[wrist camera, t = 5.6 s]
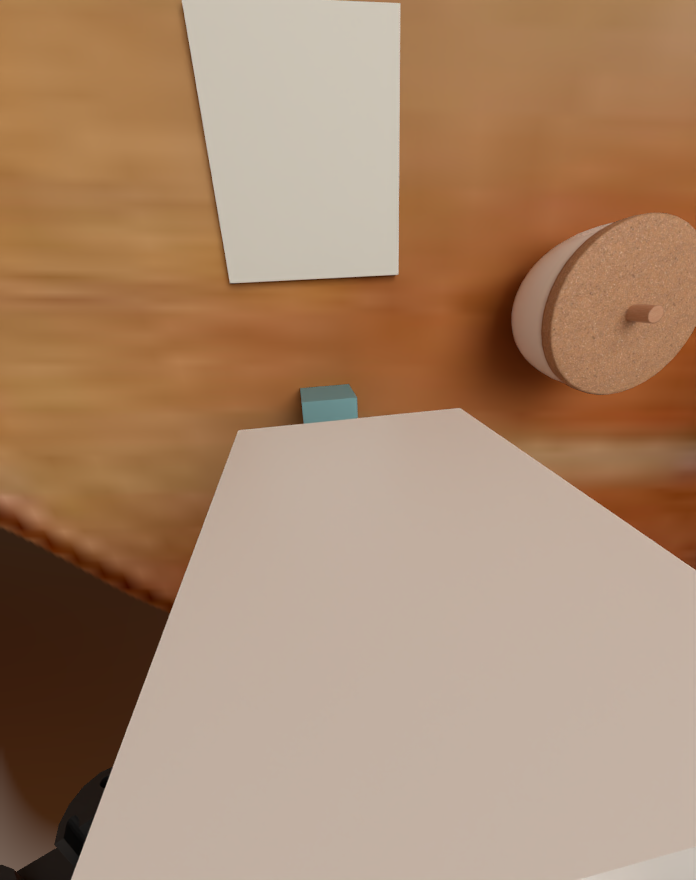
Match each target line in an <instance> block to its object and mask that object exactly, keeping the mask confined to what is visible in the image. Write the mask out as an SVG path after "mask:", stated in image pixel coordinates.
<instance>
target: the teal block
mask: <svg viewBox="0 0 696 880" xmlns="http://www.w3.org/2000/svg"><path fill="white" fill-rule="evenodd" d="M300 392H301V402H302V411H303V421H304V424H306V423H316V422H326V421H336V420H346V419H356V418H358V414H357V397H356V395H355V394H354V392H353V390H352V389H351V387H350V386H349V384H346V385H333V386H321V387H309V388H300Z"/></svg>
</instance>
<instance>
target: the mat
mask: <svg viewBox="0 0 696 880" xmlns="http://www.w3.org/2000/svg"><path fill="white" fill-rule="evenodd" d="M182 4H183V10H184V16H185V22H186V28H187V34H188V40H189V46H190V51H191V57H192V63H193V69H194V75H195V81H196V87H197V93H198V98H199V104H200V110H201V116H202V122H203V128H204V134H205V139H206V145H207V151H208V157H209V163H210V169H211V175H212V181H213V186H214V192H215V198H216V204H217V210H218V216H219V222H220V228H221V233H222V239H223V245H224V251H225V257H226V263H227V269H228V275H229V280H230V283H249V282H268V281H287V280H307V279H326V278H346V277H365V276H384V275H398V254H399V112H400V3H382V2H359V1H336V0H182Z"/></svg>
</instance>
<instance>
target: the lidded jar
mask: <svg viewBox="0 0 696 880" xmlns="http://www.w3.org/2000/svg"><path fill="white" fill-rule="evenodd" d="M511 324H512V333H513V337H514V340H515V343H516V345H517V347H518V349H519V351H520V352H521V354H522V355H523V356H524V358H525V359H526V360H527V361H528V362H529V363H530V364H531V365H532V366H533V367H535V368H536V369H537V370H538V371H540V372H542V373H543V374H545V375H547V376H549V377H550V378H552V379H554V380H557V381H559V382H562V383H565V384H566V385H568V386H570V387H571V388H574V389H577V390H580V391H582V392H585V393H589V394H596V395H606V394H613V393H618V392H622V391H625V390H627V389H630V388H633V387H635V386H637V385H639V384H641V383H643V382H644V381H646V380H648V379H649V378H651V377H652V376H654V375H655V374H656V373H658V372H659V371H660V370H661V369H662V368H663V367H665V366H666V365H667V364H668V363H669V362H670V361H671V360H672V359H673V358H674V357H675V356H676V354H677V353H678V352H679V351H680V349H681V348H682V347H683V345H684V344H685V343H686V341H687V340H688V338H689V337H690V335H691V334H692V332H693V330H694V328H695V326H696V230H695V229H694V228H693V227H692V226H691V225H690V224H689V223H688V222H686V221H684V220H683V219H681V218H679V217H677V216H674V215H671V214H667V213H647V214H641V215H635V216H631V217H628V218H625V219H622V220H619V221H616V222H613V223H609V224H605V225H602V226H598V227H596V228H593V229H590V230H587V231H584V232H582V233H579V234H577V235H575V236H573V237H571V238H569V239H568V240H566V241H564V242H562V243H560V244H558V245H557V246H555V247H554V248H553V249H551V250H550V251H549V252H547V253H546V254H545V255H544V256H543V257H542V258H541V259H540V260H539V261H538V262H537V263H536V264H535V265H534V266H533V267H532V268H531V270H530V271H529V272H528V273H527V275H526V277H525V278H524V280H523V282H522V283H521V285H520V287H519V289H518V291H517V294H516V297H515V300H514V303H513V308H512V316H511Z"/></svg>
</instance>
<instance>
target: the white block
mask: <svg viewBox="0 0 696 880" xmlns="http://www.w3.org/2000/svg"><path fill="white" fill-rule="evenodd" d="M71 880H696V570H695V569H693V568H692V567H690V566H689V565H687V564H686V563H684V562H683V561H681V560H680V559H679V558H677V557H676V556H674V555H673V554H671V553H670V552H668V551H667V550H665V549H664V548H663V547H661V546H660V545H658V544H657V543H655V542H654V541H652V540H651V539H649V538H648V537H647V536H645V535H644V534H642V533H641V532H639V531H638V530H636V529H635V528H634V527H632V526H631V525H629V524H628V523H626V522H625V521H623V520H622V519H620V518H619V517H618V516H616V515H615V514H613V513H612V512H610V511H609V510H607V509H606V508H604V507H603V506H602V505H600V504H599V503H597V502H596V501H594V500H593V499H591V498H590V497H588V496H587V495H586V494H584V493H583V492H581V491H580V490H578V489H577V488H575V487H574V486H573V485H571V484H570V483H568V482H567V481H565V480H564V479H562V478H561V477H559V476H558V475H557V474H555V473H554V472H552V471H551V470H549V469H548V468H546V467H545V466H543V465H542V464H541V463H539V462H538V461H536V460H535V459H533V458H532V457H530V456H529V455H527V454H526V453H525V452H523V451H522V450H520V449H519V448H517V447H516V446H514V445H513V444H512V443H510V442H509V441H507V440H506V439H504V438H503V437H501V436H500V435H498V434H497V433H496V432H494V431H493V430H491V429H490V428H488V427H487V426H485V425H484V424H482V423H481V422H480V421H478V420H477V419H475V418H474V417H472V416H471V415H469V414H468V413H466V412H465V411H464V410H462V409H461V408H455V409H446V410H436V411H426V412H416V413H406V414H396V415H386V416H376V417H366V418H356V419H346V420H336V421H326V422H316V423H306V424H296V425H287V426H277V427H267V428H257V429H247V430H238V433H237V435H236V438H235V441H234V444H233V446H232V449H231V452H230V454H229V457H228V460H227V462H226V465H225V468H224V470H223V473H222V476H221V478H220V481H219V484H218V486H217V489H216V492H215V495H214V497H213V500H212V503H211V505H210V508H209V511H208V513H207V516H206V519H205V521H204V524H203V527H202V529H201V532H200V535H199V537H198V540H197V543H196V546H195V548H194V551H193V554H192V556H191V559H190V562H189V564H188V567H187V570H186V572H185V575H184V578H183V580H182V583H181V586H180V588H179V591H178V594H177V597H176V599H175V602H174V605H173V607H172V610H171V613H170V615H169V618H168V621H167V623H166V626H165V629H164V631H163V634H162V637H161V640H160V643H159V645H158V648H157V650H156V653H155V656H154V658H153V661H152V664H151V666H150V669H149V672H148V675H147V677H146V680H145V683H144V685H143V688H142V690H141V693H140V696H139V699H138V701H137V704H136V707H135V709H134V712H133V715H132V718H131V720H130V723H129V725H128V728H127V731H126V733H125V736H124V739H123V741H122V744H121V747H120V750H119V752H118V755H117V758H116V760H115V763H114V766H113V768H112V771H111V774H110V776H109V779H108V782H107V784H106V787H105V790H104V792H103V795H102V798H101V800H100V803H99V806H98V809H97V811H96V814H95V817H94V819H93V822H92V825H91V827H90V830H89V833H88V835H87V838H86V841H85V843H84V846H83V849H82V851H81V854H80V857H79V860H78V862H77V865H76V868H75V870H74V873H73V876H72V878H71Z"/></svg>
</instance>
